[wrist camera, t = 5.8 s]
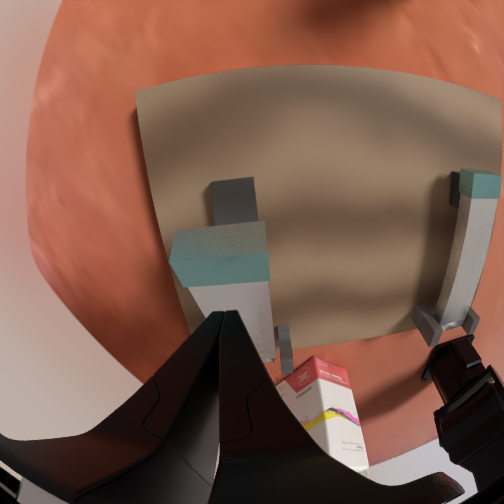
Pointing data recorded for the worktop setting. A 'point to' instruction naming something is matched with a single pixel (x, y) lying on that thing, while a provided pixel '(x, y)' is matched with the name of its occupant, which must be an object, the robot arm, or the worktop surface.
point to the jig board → (324, 187)
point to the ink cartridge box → (327, 411)
